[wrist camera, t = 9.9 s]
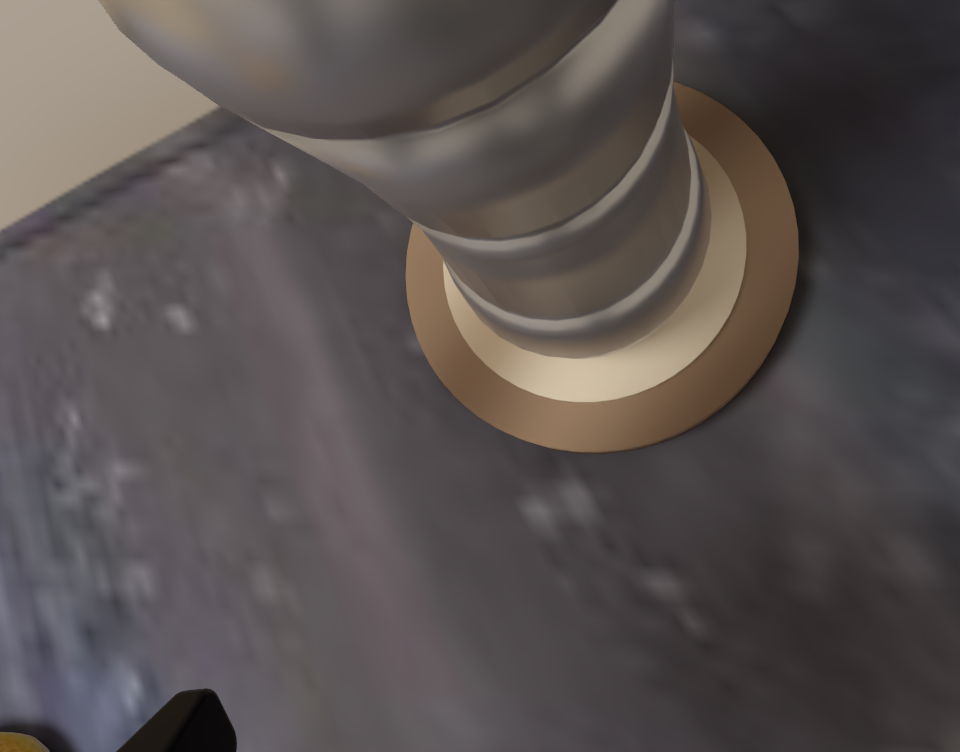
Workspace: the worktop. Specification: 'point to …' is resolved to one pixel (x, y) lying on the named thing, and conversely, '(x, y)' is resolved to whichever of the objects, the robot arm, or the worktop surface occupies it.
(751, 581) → the worktop surface
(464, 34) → the plastic bottle
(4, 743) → the bread roll
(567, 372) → the tan round plate
